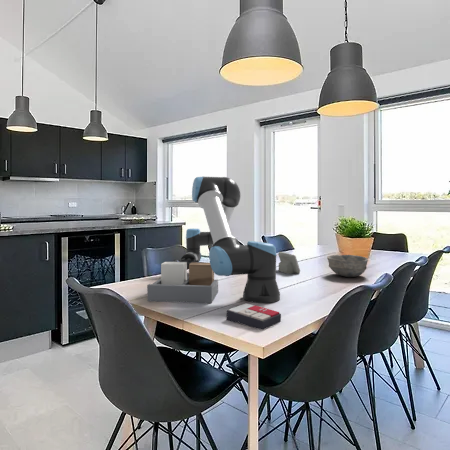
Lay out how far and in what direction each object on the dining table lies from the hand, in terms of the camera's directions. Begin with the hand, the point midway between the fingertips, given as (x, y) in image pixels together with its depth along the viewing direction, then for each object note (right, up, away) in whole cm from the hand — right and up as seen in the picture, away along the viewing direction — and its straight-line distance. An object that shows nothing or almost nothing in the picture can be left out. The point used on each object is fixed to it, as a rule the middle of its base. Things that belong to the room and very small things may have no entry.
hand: (178, 268), depth 175 cm
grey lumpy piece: (+57, -6, +38) cm, 69 cm away
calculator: (+31, -13, -47) cm, 58 cm away
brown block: (+11, -8, -10) cm, 17 cm away
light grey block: (-1, -8, -8) cm, 11 cm away
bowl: (+86, -7, +26) cm, 90 cm away
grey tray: (+4, -10, -16) cm, 19 cm away
